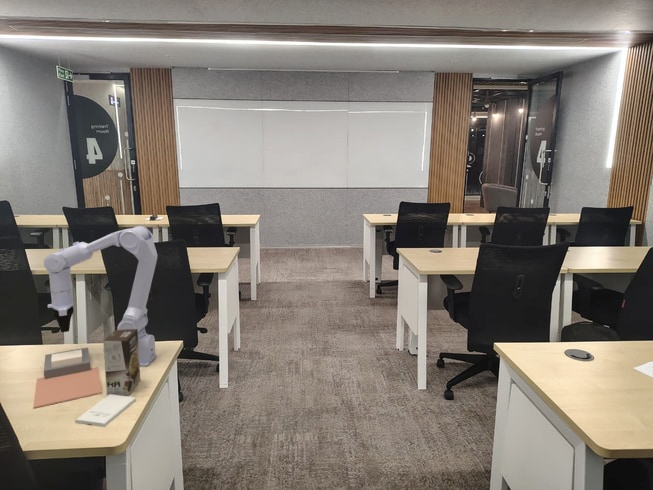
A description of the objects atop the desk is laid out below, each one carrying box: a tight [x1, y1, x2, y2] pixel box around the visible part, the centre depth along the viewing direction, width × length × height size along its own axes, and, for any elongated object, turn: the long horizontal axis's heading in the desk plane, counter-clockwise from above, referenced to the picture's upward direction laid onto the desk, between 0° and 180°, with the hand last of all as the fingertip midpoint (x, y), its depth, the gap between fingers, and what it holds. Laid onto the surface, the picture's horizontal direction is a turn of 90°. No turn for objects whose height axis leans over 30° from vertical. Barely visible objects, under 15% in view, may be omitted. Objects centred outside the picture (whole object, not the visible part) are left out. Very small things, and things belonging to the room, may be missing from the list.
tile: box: [51, 349, 82, 368], centre depth 134 cm, size 6×8×2 cm
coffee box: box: [102, 329, 141, 397], centre depth 123 cm, size 9×6×16 cm
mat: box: [32, 366, 103, 409], centre depth 125 cm, size 18×16×1 cm
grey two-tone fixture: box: [43, 347, 92, 379], centre depth 137 cm, size 13×12×3 cm
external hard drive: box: [74, 394, 137, 428], centre depth 113 cm, size 2×8×12 cm
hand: (65, 330), depth 139 cm, fingers closed
